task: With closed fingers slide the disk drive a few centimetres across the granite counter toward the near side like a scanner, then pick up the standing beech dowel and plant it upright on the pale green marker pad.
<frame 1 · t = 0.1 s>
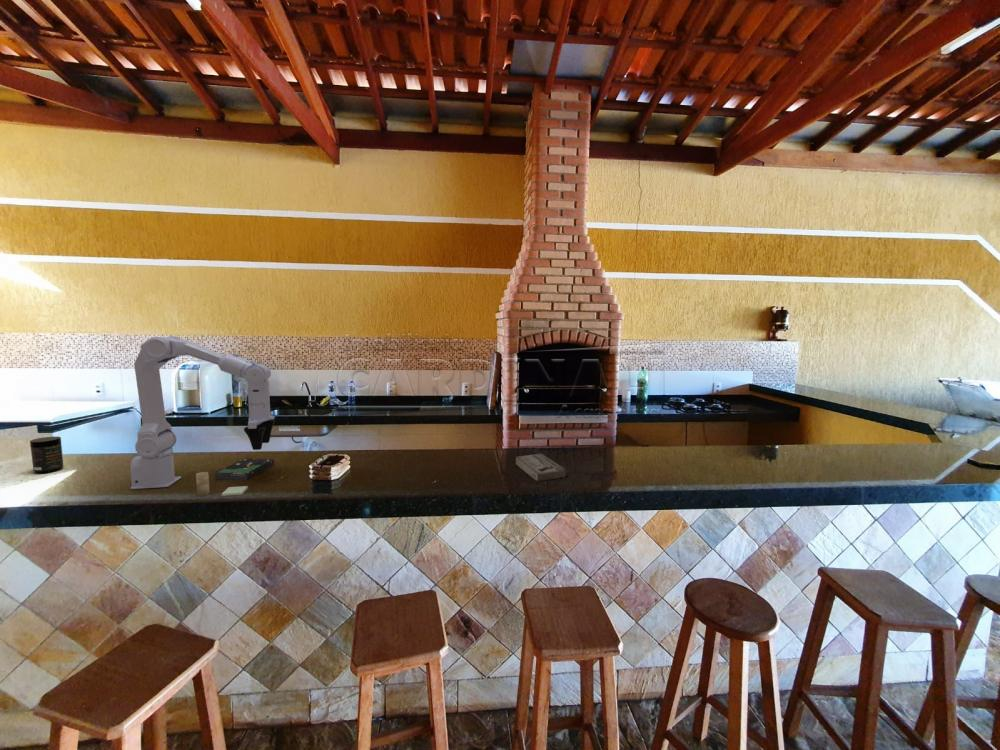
hand: (261, 446, 130), 10 cm above the countertop, tool pointing down, fingers open, 7 cm apart
disk drive: (246, 473, 136), on the countertop
supplement container: (49, 471, 134), on the countertop
dowel: (203, 494, 117), on the countertop
box: (539, 472, 141), on the countertop
pad: (235, 491, 119), on the countertop
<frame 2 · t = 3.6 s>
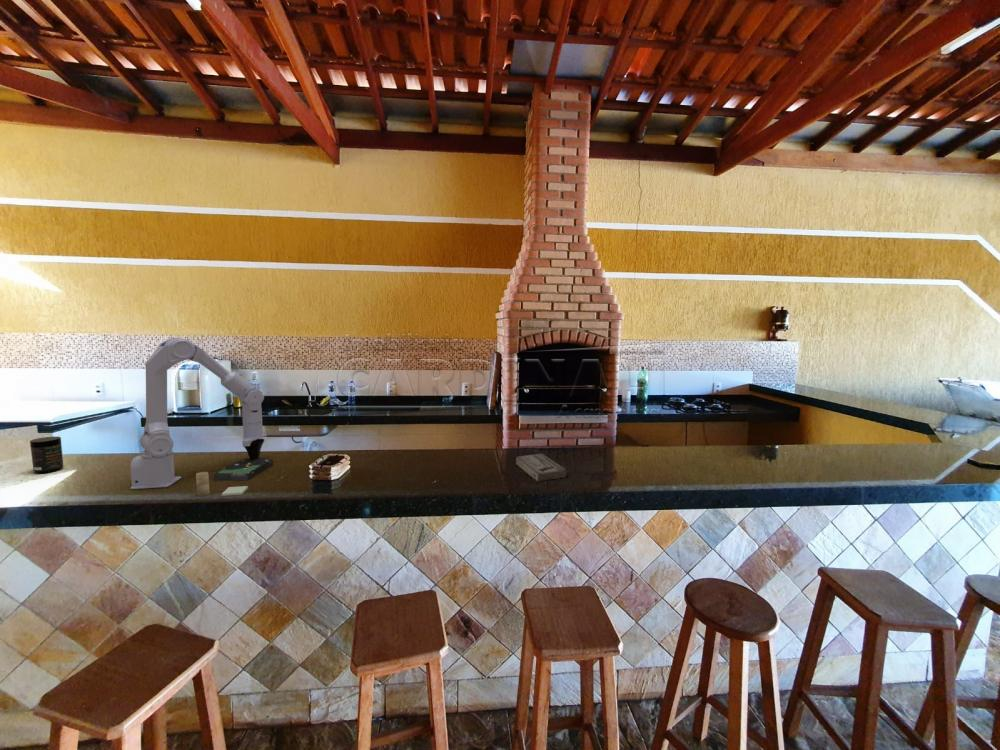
hand: (254, 461, 144), 1 cm above the countertop, tool pointing down, fingers closed
nothing on the countertop moved.
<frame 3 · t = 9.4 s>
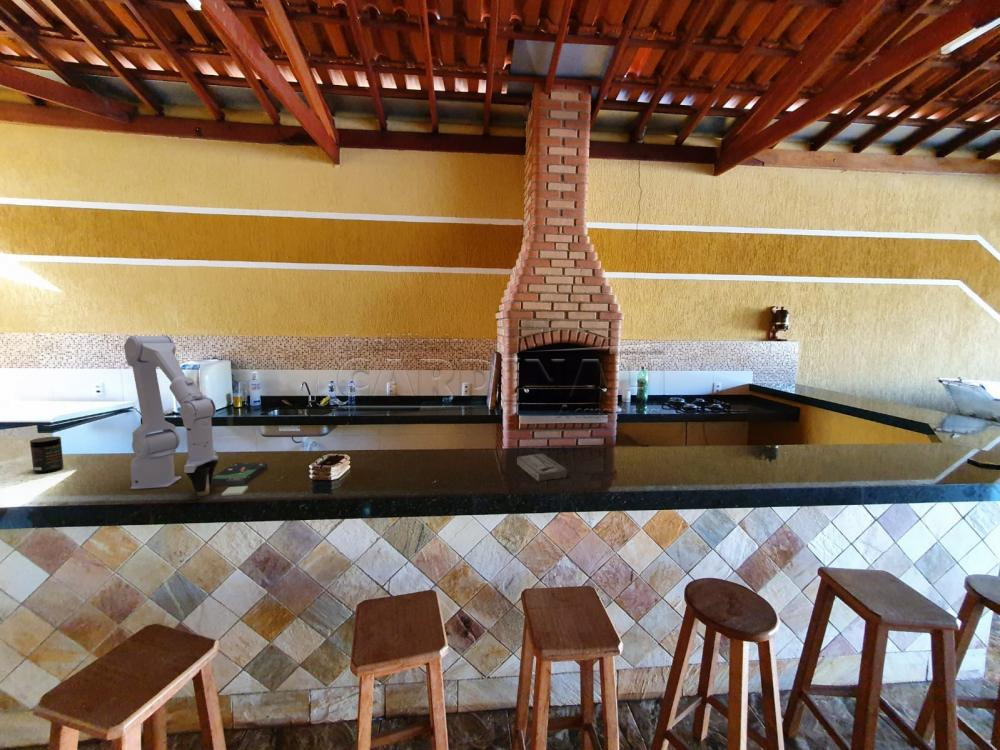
hand: (203, 489, 117), 1 cm above the countertop, tool pointing down, fingers closed on dowel, 3 cm apart
disk drive: (240, 478, 131), on the countertop
dowel: (203, 494, 117), on the countertop, touching gripper
everything else where it was.
when the fingers open (3 cm above the countertop, at t = 11.9 s): dowel stays where it is, resting on pad.
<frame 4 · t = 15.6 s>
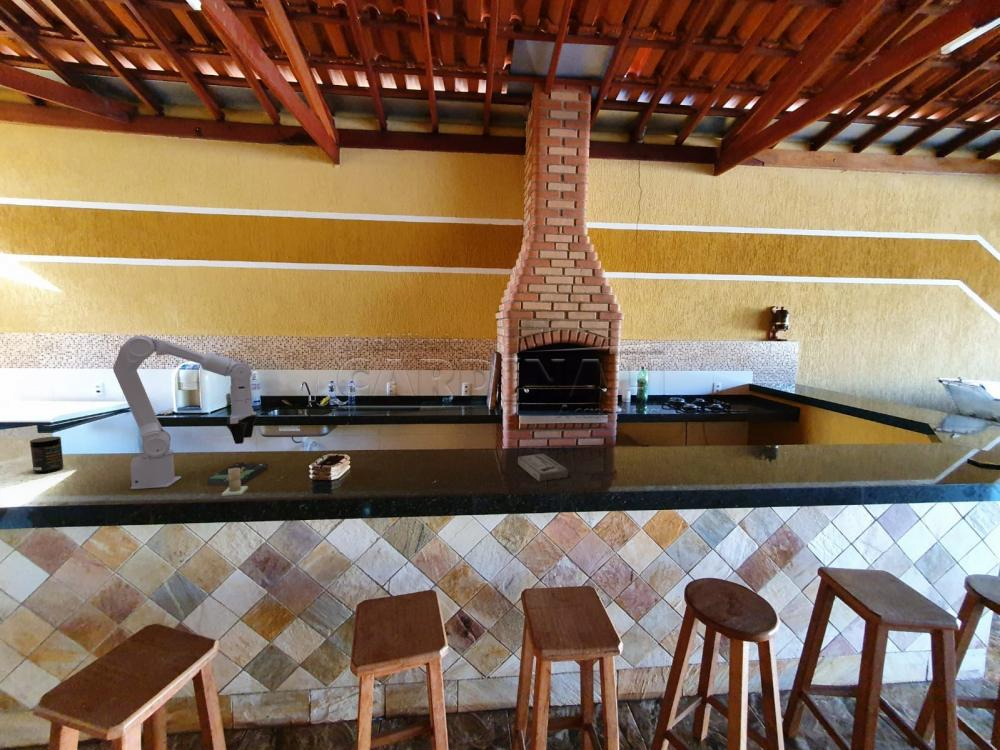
hand: (243, 440, 137), 10 cm above the countertop, tool pointing down, fingers open, 7 cm apart
dowel: (235, 489, 119), point 1 cm above the countertop, touching pad
everything else where it was.
at the end: disk drive inside the target area (0.7 cm from its centre), on the countertop; dowel 0.0 cm from the pad (horizontally); dowel tilted 2° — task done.
